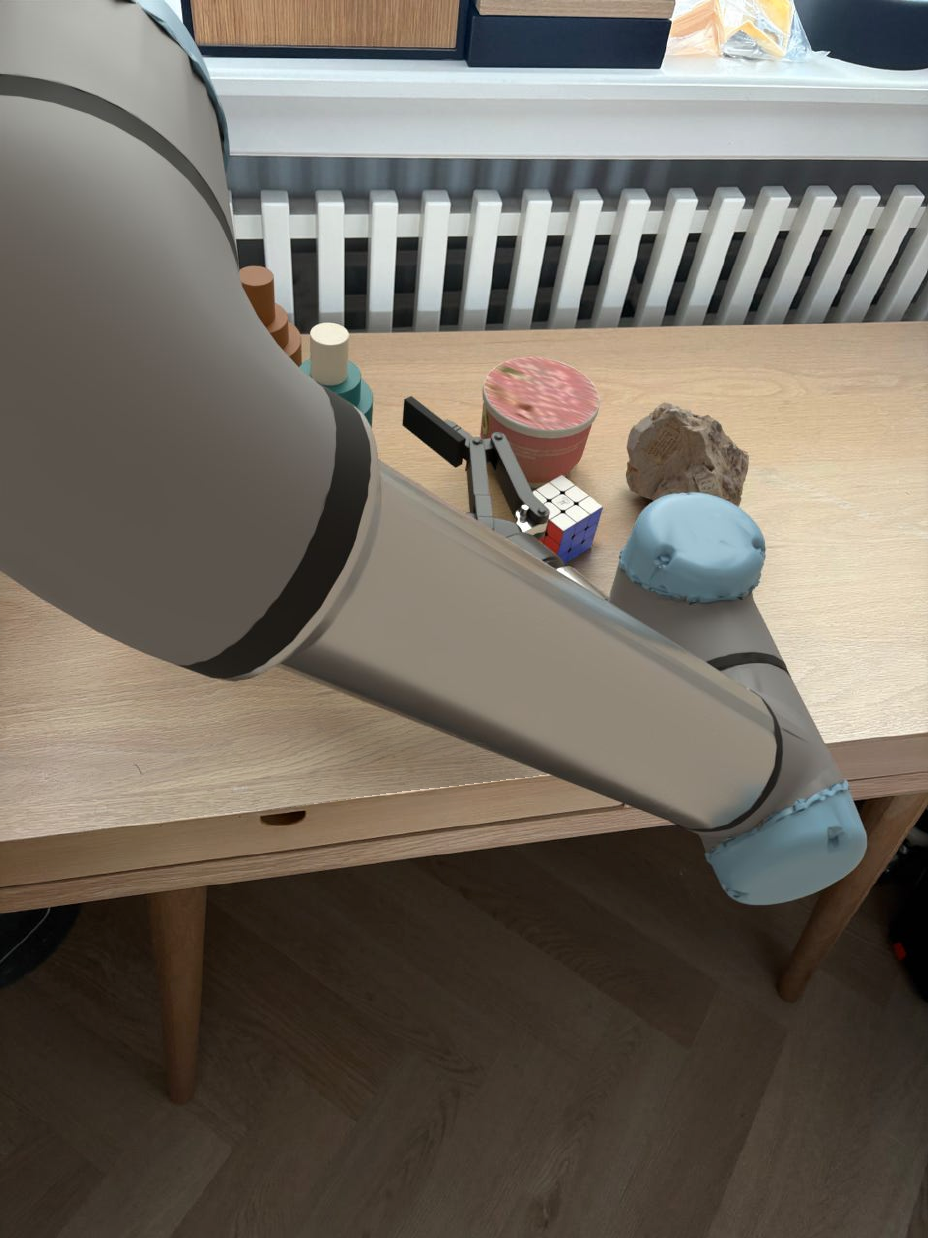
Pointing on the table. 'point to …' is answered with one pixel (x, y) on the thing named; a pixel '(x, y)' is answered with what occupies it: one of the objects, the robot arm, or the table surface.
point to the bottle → (337, 367)
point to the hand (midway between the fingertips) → (341, 442)
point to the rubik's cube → (568, 518)
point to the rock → (684, 456)
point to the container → (540, 414)
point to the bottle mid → (271, 310)
